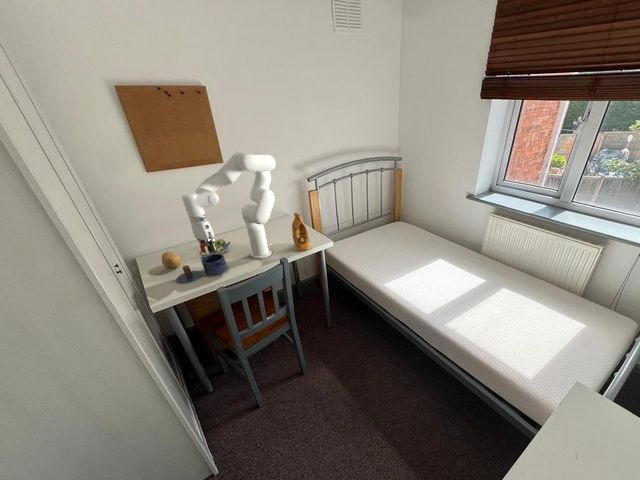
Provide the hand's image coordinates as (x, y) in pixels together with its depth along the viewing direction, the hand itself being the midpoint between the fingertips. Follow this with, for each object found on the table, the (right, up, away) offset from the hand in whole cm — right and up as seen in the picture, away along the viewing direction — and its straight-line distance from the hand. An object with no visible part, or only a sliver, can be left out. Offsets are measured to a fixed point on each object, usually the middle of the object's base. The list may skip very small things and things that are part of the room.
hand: (208, 250), depth 157 cm
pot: (0, -11, +8) cm, 14 cm away
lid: (-12, -14, +2) cm, 19 cm away
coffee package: (+43, +5, +33) cm, 55 cm away
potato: (-28, -9, +14) cm, 32 cm away
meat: (0, 0, 0) cm, 0 cm away
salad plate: (-12, +3, +32) cm, 34 cm away
